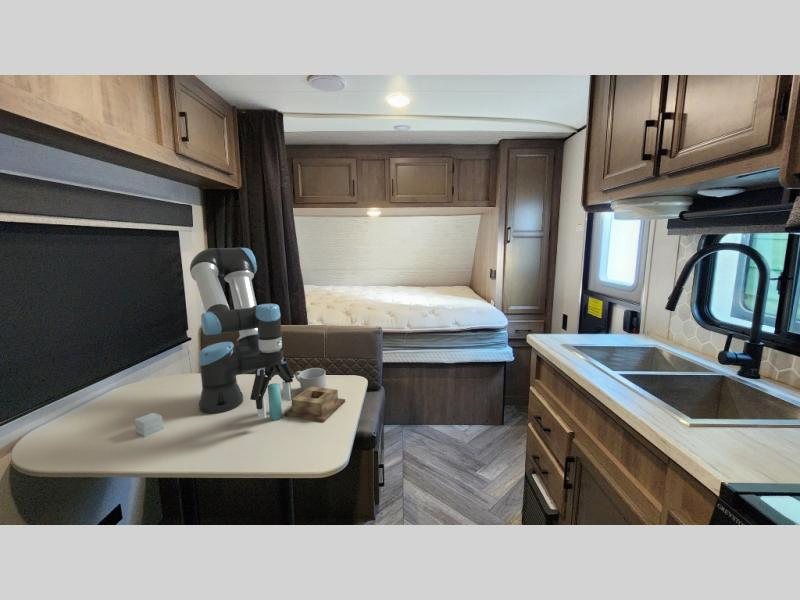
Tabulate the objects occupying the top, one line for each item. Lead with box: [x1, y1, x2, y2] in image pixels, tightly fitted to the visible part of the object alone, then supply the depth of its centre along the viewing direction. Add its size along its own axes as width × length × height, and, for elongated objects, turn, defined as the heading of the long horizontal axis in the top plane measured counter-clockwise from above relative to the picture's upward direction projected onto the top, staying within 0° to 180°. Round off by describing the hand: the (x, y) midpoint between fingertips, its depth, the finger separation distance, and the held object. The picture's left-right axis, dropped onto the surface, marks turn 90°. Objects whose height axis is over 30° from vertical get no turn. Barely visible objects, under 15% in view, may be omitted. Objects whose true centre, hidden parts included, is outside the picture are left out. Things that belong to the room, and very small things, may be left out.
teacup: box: [294, 367, 327, 392], centre depth 142 cm, size 14×11×8 cm
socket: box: [283, 386, 346, 423], centre depth 126 cm, size 16×16×6 cm
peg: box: [267, 382, 283, 422], centre depth 119 cm, size 4×4×12 cm
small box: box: [134, 412, 164, 438], centre depth 112 cm, size 6×6×5 cm
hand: (275, 407), depth 120 cm, fingers open, 13 cm apart
